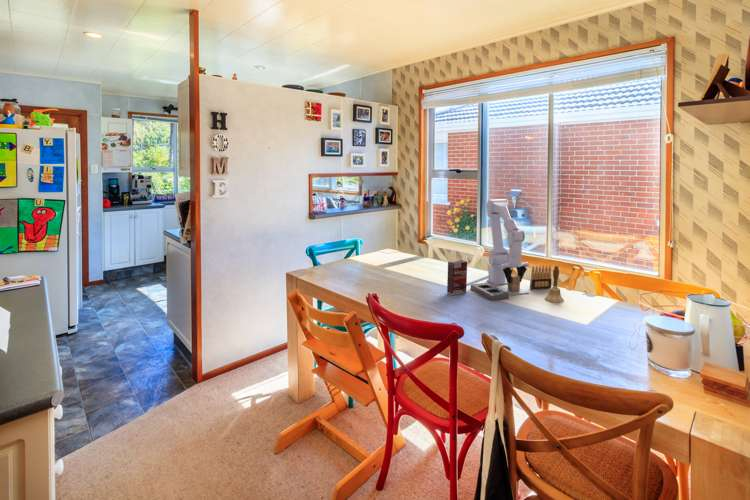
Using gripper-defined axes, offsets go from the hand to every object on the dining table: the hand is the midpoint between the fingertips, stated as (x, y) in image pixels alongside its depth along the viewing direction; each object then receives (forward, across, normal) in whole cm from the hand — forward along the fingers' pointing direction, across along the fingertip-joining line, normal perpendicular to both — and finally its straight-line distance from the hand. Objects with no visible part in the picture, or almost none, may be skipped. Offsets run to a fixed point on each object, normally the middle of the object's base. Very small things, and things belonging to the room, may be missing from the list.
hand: (514, 282), depth 205 cm
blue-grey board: (+5, 0, 0) cm, 5 cm away
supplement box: (+5, -27, +7) cm, 28 cm away
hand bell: (+5, +10, -17) cm, 20 cm away
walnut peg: (+4, 0, 0) cm, 4 cm away
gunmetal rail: (+5, -13, +1) cm, 14 cm away
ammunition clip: (+5, +16, 0) cm, 17 cm away
